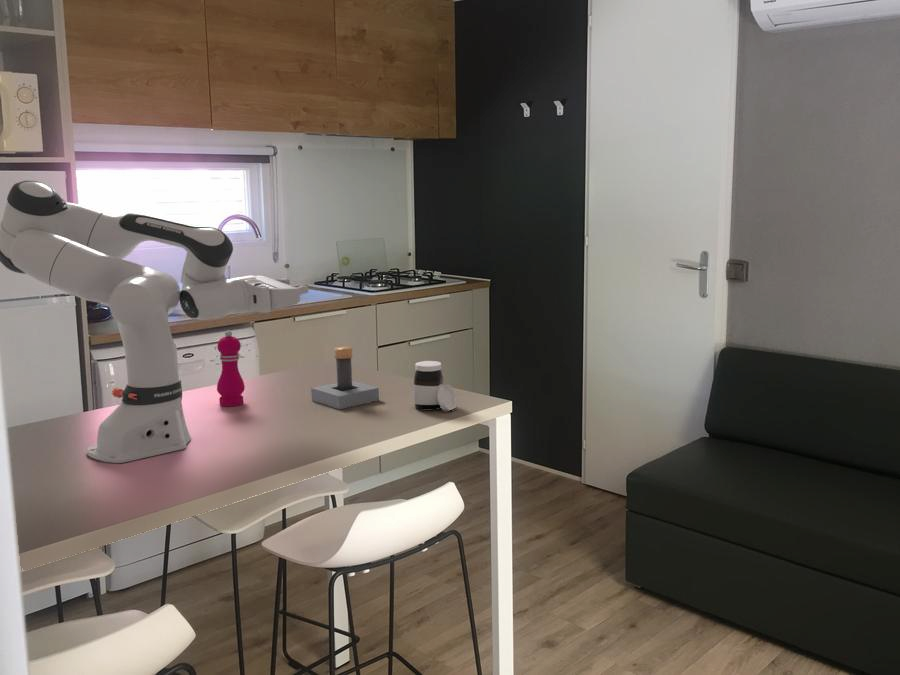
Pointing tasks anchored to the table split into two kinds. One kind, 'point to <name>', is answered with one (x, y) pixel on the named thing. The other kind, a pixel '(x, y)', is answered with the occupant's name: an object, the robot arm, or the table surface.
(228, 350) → the pepper mill
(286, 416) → the table surface
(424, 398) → the spread jar
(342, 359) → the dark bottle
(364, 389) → the socket
